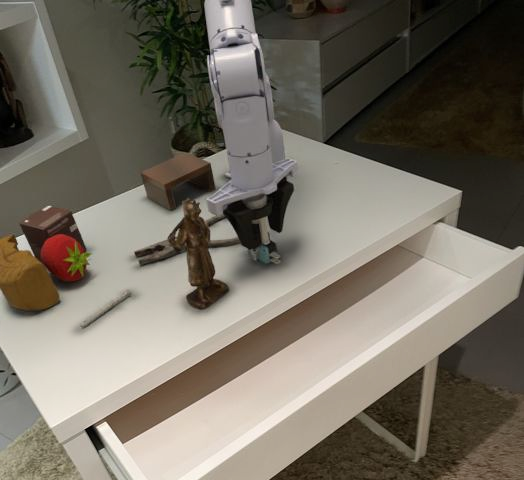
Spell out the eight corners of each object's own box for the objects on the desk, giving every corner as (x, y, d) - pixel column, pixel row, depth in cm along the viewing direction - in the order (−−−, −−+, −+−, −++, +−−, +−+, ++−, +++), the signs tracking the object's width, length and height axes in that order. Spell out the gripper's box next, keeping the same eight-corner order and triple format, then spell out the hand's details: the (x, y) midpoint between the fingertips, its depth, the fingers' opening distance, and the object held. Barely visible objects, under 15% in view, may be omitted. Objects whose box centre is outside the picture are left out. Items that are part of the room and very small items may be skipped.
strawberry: (44, 224, 86) (87, 226, 81) (68, 265, 91) (110, 269, 86) (16, 246, 83) (59, 249, 78) (42, 287, 88) (84, 293, 82)
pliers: (268, 225, 89) (158, 278, 82) (269, 230, 89) (159, 283, 82) (235, 205, 95) (130, 252, 88) (236, 209, 96) (131, 257, 89)
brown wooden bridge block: (191, 177, 108) (185, 152, 104) (215, 188, 103) (210, 162, 99) (147, 197, 104) (140, 172, 100) (170, 211, 99) (163, 184, 95)
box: (61, 270, 89) (42, 229, 84) (36, 262, 92) (17, 222, 87) (88, 250, 92) (72, 210, 88) (63, 243, 95) (46, 204, 90)
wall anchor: (126, 292, 82) (131, 296, 81) (79, 326, 77) (84, 330, 77) (126, 288, 81) (131, 292, 81) (78, 322, 77) (83, 326, 76)
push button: (292, 258, 83) (286, 196, 76) (264, 274, 81) (255, 212, 74) (264, 242, 87) (256, 182, 80) (237, 257, 85) (226, 197, 78)
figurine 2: (32, 265, 92) (63, 301, 82) (-7, 283, 90) (20, 322, 80) (13, 227, 88) (43, 260, 78) (-28, 245, 86) (-3, 281, 75)
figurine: (194, 317, 76) (167, 218, 66) (175, 307, 78) (147, 210, 68) (232, 289, 79) (212, 191, 69) (214, 280, 81) (192, 184, 71)
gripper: (222, 177, 67) (240, 270, 76) (310, 134, 73) (316, 226, 82) (189, 162, 71) (210, 252, 81) (274, 123, 77) (284, 211, 87)
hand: (261, 238), depth 82 cm, fingers closed on push button, 5 cm apart
